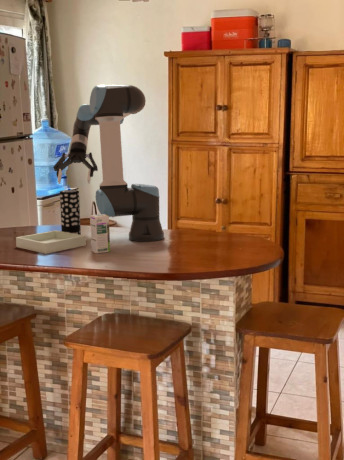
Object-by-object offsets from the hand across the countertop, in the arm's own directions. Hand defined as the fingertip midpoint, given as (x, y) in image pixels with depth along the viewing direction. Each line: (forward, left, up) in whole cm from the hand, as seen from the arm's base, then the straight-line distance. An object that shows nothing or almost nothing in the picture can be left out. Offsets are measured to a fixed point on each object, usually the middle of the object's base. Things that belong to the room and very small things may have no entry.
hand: (73, 182), depth 292 cm
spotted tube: (-7, +8, -23) cm, 26 cm away
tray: (-18, +27, -23) cm, 40 cm away
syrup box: (-42, +21, -23) cm, 53 cm away
